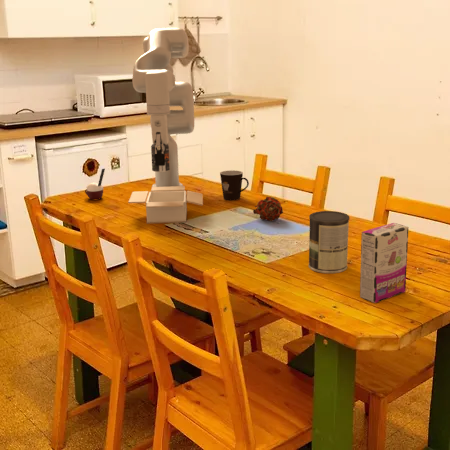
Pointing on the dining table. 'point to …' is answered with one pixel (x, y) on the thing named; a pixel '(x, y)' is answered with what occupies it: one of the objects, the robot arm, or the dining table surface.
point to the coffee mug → (232, 184)
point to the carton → (163, 204)
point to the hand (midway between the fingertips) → (160, 163)
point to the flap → (194, 198)
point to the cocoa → (95, 188)
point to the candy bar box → (383, 262)
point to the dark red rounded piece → (268, 209)
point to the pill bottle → (166, 166)
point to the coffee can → (328, 241)
